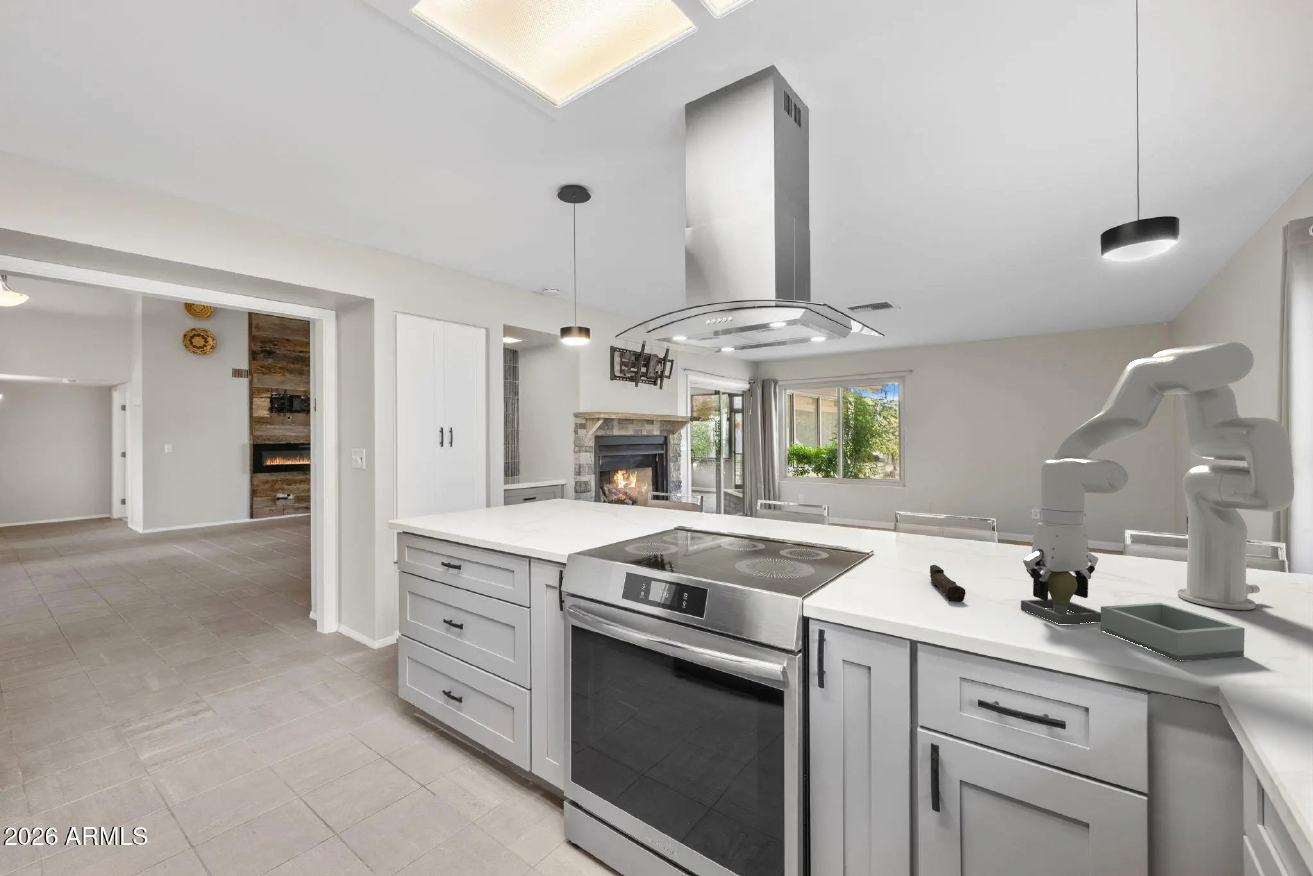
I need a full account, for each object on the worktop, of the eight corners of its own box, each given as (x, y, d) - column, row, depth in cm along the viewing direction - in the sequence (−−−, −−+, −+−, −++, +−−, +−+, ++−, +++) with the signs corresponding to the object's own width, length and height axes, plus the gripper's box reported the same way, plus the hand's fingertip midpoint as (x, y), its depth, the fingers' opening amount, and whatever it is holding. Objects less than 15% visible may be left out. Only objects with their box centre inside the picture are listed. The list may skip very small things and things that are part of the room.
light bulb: (1082, 621, 114) (1083, 573, 114) (1052, 619, 116) (1053, 572, 115) (1068, 612, 120) (1068, 566, 120) (1039, 610, 121) (1040, 565, 121)
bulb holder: (1060, 606, 123) (1060, 597, 123) (1102, 622, 114) (1102, 613, 114) (1020, 609, 122) (1020, 600, 122) (1060, 625, 112) (1060, 616, 112)
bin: (1159, 627, 111) (1160, 602, 111) (1243, 655, 97) (1244, 628, 97) (1100, 631, 109) (1100, 606, 109) (1177, 661, 95) (1178, 633, 95)
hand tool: (965, 603, 127) (966, 583, 126) (946, 602, 127) (947, 582, 127) (943, 581, 145) (943, 563, 145) (926, 580, 146) (927, 562, 146)
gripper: (1080, 513, 122) (1079, 590, 123) (1011, 515, 120) (1010, 593, 120) (1113, 519, 115) (1111, 600, 115) (1041, 521, 112) (1039, 605, 113)
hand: (1060, 597), depth 118 cm, fingers open, 9 cm apart
